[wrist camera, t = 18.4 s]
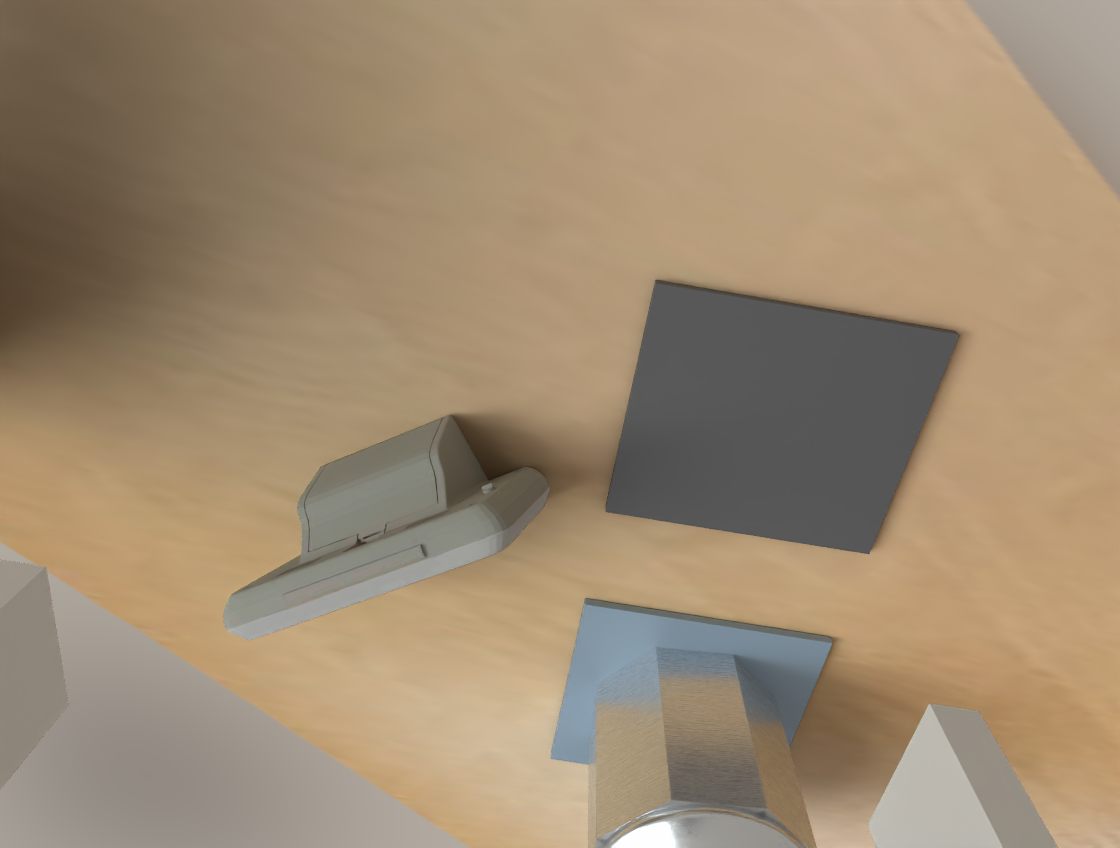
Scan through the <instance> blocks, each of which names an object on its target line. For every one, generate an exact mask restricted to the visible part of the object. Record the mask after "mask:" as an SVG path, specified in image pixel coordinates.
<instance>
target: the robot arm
mask: <svg viewBox="0 0 1120 848" xmlns="http://www.w3.org/2000/svg"><path fill="white" fill-rule="evenodd" d="M68 705H69V703H68V697H67V691H66V685H65V679H64V673H63V666H62V660H61V654H60V648H59V642H58V636H57V630H56V624H55V618H54V612H53V606H52V600H51V594H50V588H49V582H48V575H47V569H46V566H40V565H33V564H26V563H20V562H14V561H7V560H1V559H0V790H1V789H2V787H3V786H4V785H5V784H6V782H7V781H8V780H9V779H10V778H11V776H12V775H13V774H14V773H15V771H16V770H17V769H18V768H19V766H20V765H21V764H22V763H23V761H24V760H25V759H26V758H27V756H28V755H29V754H30V753H31V751H32V750H33V749H34V748H35V747H36V745H37V744H38V743H39V742H40V740H41V739H42V738H43V737H44V735H45V734H46V733H47V731H48V730H49V729H50V728H51V727H52V725H53V724H54V723H55V722H56V720H57V719H58V718H59V717H60V715H61V714H62V713H63V712H64V710H65V709H66V708H67V707H68ZM868 826H869V829H870V832H871V835H872V838H873V841H874V843H875V846H876V848H1058V847H1057V845H1056V843H1055V841H1054V840H1053V838H1052V836H1051V834H1050V833H1049V831H1048V829H1047V828H1046V826H1045V824H1044V822H1043V821H1042V819H1041V817H1040V815H1039V814H1038V812H1037V810H1036V809H1035V807H1034V805H1033V803H1032V802H1031V800H1030V798H1029V796H1028V795H1027V793H1026V791H1025V790H1024V788H1023V786H1022V784H1021V783H1020V781H1019V779H1018V777H1017V776H1016V774H1015V772H1014V771H1013V769H1012V767H1011V765H1010V764H1009V762H1008V760H1007V758H1006V757H1005V755H1004V753H1003V752H1002V750H1001V748H1000V746H999V745H998V743H997V741H996V739H995V738H994V736H993V734H992V733H991V731H990V729H989V727H988V726H987V724H986V722H985V720H984V719H983V717H982V715H981V714H980V712H979V711H976V710H970V709H963V708H957V707H950V706H944V705H937V704H931V703H929V705H928V707H927V709H926V711H925V713H924V715H923V717H922V719H921V721H920V723H919V725H918V727H917V729H916V731H915V733H914V735H913V737H912V739H911V741H910V743H909V744H908V746H907V748H906V750H905V752H904V754H903V756H902V758H901V760H900V762H899V764H898V766H897V768H896V770H895V772H894V774H893V776H892V778H891V780H890V782H889V784H888V786H887V788H886V790H885V792H884V794H883V796H882V798H881V800H880V802H879V804H878V806H877V808H876V809H875V811H874V813H873V815H872V817H871V819H870V821H869V823H868Z"/></svg>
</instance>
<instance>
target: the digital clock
mask: <svg viewBox="0 0 1120 848" xmlns="http://www.w3.org/2000/svg"><path fill="white" fill-rule="evenodd" d="M549 489H550V485H549V482H548V480H547V479H546V478H545V477H544V475H543V474H541V473H540V472H538V471H537V470H535V469H533V468H531V467H524V468H521V469H518V470H515V471H513V472H510V473H507V474H505V475H502V476H499V477H497V478H494V479H491V480H488V479H487V477H486V475H485V474H484V472H483V470H482V468H481V466H480V465H479V463H478V461H477V459H476V457H475V456H474V454H473V452H472V450H471V448H470V447H469V445H468V443H467V441H466V439H465V438H464V436H463V434H462V432H461V430H460V429H459V427H458V425H457V423H456V421H455V420H454V418H453V417H452V416H451V415H448V416H446V417H444V418H441V419H439V420H436V421H434V422H431V423H429V424H426V425H424V426H421V427H419V428H416V429H414V430H411V431H409V432H406V433H404V434H401V435H399V436H396V437H394V438H391V439H389V440H386V441H384V442H381V443H379V444H376V445H374V446H371V447H369V448H366V449H364V450H361V451H359V452H356V453H354V454H351V455H349V456H346V457H344V458H341V459H339V460H336V461H334V462H331V463H329V464H327V465H324V466H322V467H321V468H320V469H319V470H318V472H317V473H316V475H315V476H314V478H313V479H312V481H311V482H310V484H309V485H308V487H307V488H306V490H305V491H304V493H303V494H302V496H301V498H300V500H299V502H298V507H297V511H298V515H299V518H300V521H301V526H302V550H301V555H300V556H298V557H296V558H294V559H293V560H291V561H289V562H287V563H286V564H284V565H282V566H280V567H279V568H277V569H275V570H273V571H271V572H270V573H268V574H266V575H264V576H263V577H261V578H259V579H257V580H256V581H254V582H252V583H250V584H248V585H247V586H245V587H243V588H241V589H240V590H238V591H236V592H235V593H233V594H232V595H231V596H230V597H229V600H228V602H227V604H226V607H225V611H224V625H225V628H226V631H228V632H230V633H232V634H235V635H237V636H239V637H242V638H244V639H246V640H252V639H256V638H259V637H261V636H264V635H267V634H270V633H273V632H276V631H279V630H282V629H285V628H288V627H290V626H293V625H296V624H299V623H302V622H305V621H307V620H310V619H313V618H316V617H319V616H322V615H324V614H327V613H330V612H333V611H336V610H339V609H341V608H344V607H347V606H350V605H353V604H356V603H359V602H361V601H364V600H367V599H370V598H373V597H376V596H378V595H381V594H384V593H387V592H390V591H393V590H395V589H398V588H401V587H404V586H407V585H410V584H412V583H415V582H418V581H421V580H424V579H427V578H429V577H432V576H435V575H438V574H441V573H444V572H446V571H449V570H452V569H455V568H458V567H461V566H463V565H466V564H469V563H472V562H474V561H477V560H480V559H483V558H486V557H488V556H491V555H493V554H496V553H498V552H500V551H502V550H504V549H505V548H506V547H508V546H509V545H510V544H511V543H512V542H513V541H514V540H515V539H516V537H517V536H518V535H519V534H520V533H521V532H522V531H523V530H524V528H525V527H526V526H527V525H528V524H529V523H530V522H531V521H532V520H533V518H534V517H535V516H536V515H537V514H538V513H539V512H540V511H541V509H542V508H543V507H544V506H545V503H546V500H547V497H548V493H549ZM437 493H438V494H437ZM448 510H449V511H448ZM446 511H447V512H446ZM443 512H444V515H443ZM440 513H441V516H440ZM435 515H436V518H435ZM437 515H438V517H437ZM432 516H433V519H432ZM429 517H430V520H429ZM427 518H428V521H427ZM424 519H425V522H424ZM421 520H422V523H421ZM419 521H420V524H419ZM416 522H417V525H416ZM413 523H414V526H413ZM411 524H412V525H411ZM408 526H409V528H408ZM405 528H406V529H405Z"/></svg>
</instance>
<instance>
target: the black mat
mask: <svg viewBox="0 0 1120 848" xmlns="http://www.w3.org/2000/svg"><path fill="white" fill-rule="evenodd" d="M958 338H959V334H958V333H957V332H955V331H951V330H945V329H940V328H934V327H928V326H922V325H916V324H910V323H904V322H899V321H893V320H887V319H881V318H875V317H869V316H863V315H858V314H852V313H846V312H840V311H834V310H828V309H822V308H817V307H811V306H805V305H799V304H793V303H787V302H781V301H775V300H770V299H764V298H758V297H752V296H746V295H740V294H734V293H729V292H723V291H717V290H711V289H705V288H699V287H693V286H688V285H682V284H676V283H670V282H664V281H658V280H655V285H654V289H653V294H652V298H651V303H650V307H649V312H648V316H647V321H646V325H645V330H644V334H643V339H642V344H641V348H640V353H639V357H638V362H637V366H636V371H635V375H634V380H633V384H632V389H631V393H630V398H629V402H628V407H627V412H626V416H625V421H624V425H623V430H622V434H621V439H620V443H619V448H618V452H617V457H616V461H615V466H614V470H613V475H612V479H611V484H610V489H609V493H608V498H607V502H606V512H610V513H616V514H622V515H629V516H635V517H641V518H647V519H653V520H660V521H666V522H672V523H678V524H685V525H691V526H697V527H703V528H709V529H716V530H722V531H728V532H734V533H741V534H747V535H753V536H759V537H765V538H772V539H778V540H784V541H790V542H797V543H803V544H809V545H815V546H821V547H828V548H834V549H840V550H846V551H853V552H859V553H865V554H870V551H871V549H872V546H873V544H874V541H875V539H876V537H877V534H878V532H879V529H880V527H881V524H882V522H883V520H884V517H885V515H886V512H887V510H888V508H889V505H890V503H891V500H892V498H893V495H894V493H895V491H896V488H897V486H898V483H899V481H900V478H901V476H902V474H903V471H904V469H905V466H906V464H907V461H908V459H909V457H910V454H911V452H912V449H913V447H914V445H915V442H916V440H917V437H918V435H919V432H920V430H921V428H922V425H923V423H924V420H925V418H926V415H927V413H928V411H929V408H930V406H931V403H932V401H933V398H934V396H935V394H936V391H937V389H938V386H939V384H940V381H941V379H942V377H943V374H944V372H945V369H946V367H947V365H948V362H949V360H950V357H951V355H952V352H953V350H954V348H955V345H956V343H957V340H958Z"/></svg>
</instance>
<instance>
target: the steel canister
mask: <svg viewBox="0 0 1120 848" xmlns="http://www.w3.org/2000/svg"><path fill="white" fill-rule="evenodd" d="M588 848H817V847H816V843H815V839H814V836H813V832H812V829H811V825H810V821H809V818H808V814H807V810H806V807H805V803H804V800H803V796H802V792H801V789H800V785H799V782H798V778H797V774H796V771H795V767H794V763H793V760H792V756H791V753H790V749H789V745H788V742H787V738H786V734H785V731H784V727H783V724H782V720H781V716H780V713H779V709H778V706H777V702H776V699H775V698H774V697H773V696H772V695H771V694H770V693H769V692H768V691H767V690H766V689H765V688H764V687H763V686H762V685H761V683H760V682H759V681H758V680H757V679H756V678H755V677H754V676H753V675H752V674H751V673H750V672H749V671H748V670H747V669H746V668H745V667H744V666H743V665H742V664H741V663H740V662H739V661H738V659H737V658H736V657H735V656H734V655H733V654H724V653H713V652H702V651H691V650H680V649H669V648H659V647H656V648H654V649H652V650H651V651H649V652H647V653H646V654H644V655H642V656H641V657H639V658H637V659H636V660H634V661H632V662H631V663H629V664H627V665H626V666H624V667H622V668H621V669H619V670H617V671H616V672H614V673H612V674H611V675H609V676H607V677H606V678H604V679H602V680H601V681H599V682H597V683H596V690H595V697H594V705H593V712H592V720H591V727H590V735H589V797H588Z"/></svg>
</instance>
